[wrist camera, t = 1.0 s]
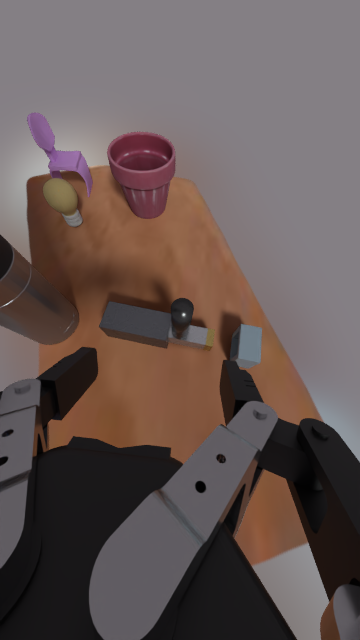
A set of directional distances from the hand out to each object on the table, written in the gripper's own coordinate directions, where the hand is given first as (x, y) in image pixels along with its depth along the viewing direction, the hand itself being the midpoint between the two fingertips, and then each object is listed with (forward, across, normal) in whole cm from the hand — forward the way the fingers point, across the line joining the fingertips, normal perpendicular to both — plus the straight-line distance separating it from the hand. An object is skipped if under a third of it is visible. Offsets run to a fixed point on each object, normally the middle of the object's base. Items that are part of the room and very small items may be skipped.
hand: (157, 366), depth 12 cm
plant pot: (+47, +12, -19) cm, 52 cm away
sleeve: (+24, +8, +7) cm, 27 cm away
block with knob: (+23, +3, +7) cm, 25 cm away
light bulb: (+41, +29, -13) cm, 52 cm away
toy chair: (+49, +32, -23) cm, 63 cm away
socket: (+24, -12, +10) cm, 28 cm away
